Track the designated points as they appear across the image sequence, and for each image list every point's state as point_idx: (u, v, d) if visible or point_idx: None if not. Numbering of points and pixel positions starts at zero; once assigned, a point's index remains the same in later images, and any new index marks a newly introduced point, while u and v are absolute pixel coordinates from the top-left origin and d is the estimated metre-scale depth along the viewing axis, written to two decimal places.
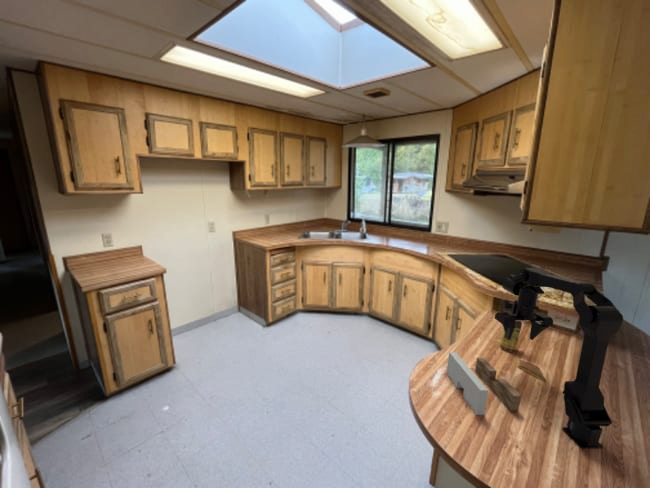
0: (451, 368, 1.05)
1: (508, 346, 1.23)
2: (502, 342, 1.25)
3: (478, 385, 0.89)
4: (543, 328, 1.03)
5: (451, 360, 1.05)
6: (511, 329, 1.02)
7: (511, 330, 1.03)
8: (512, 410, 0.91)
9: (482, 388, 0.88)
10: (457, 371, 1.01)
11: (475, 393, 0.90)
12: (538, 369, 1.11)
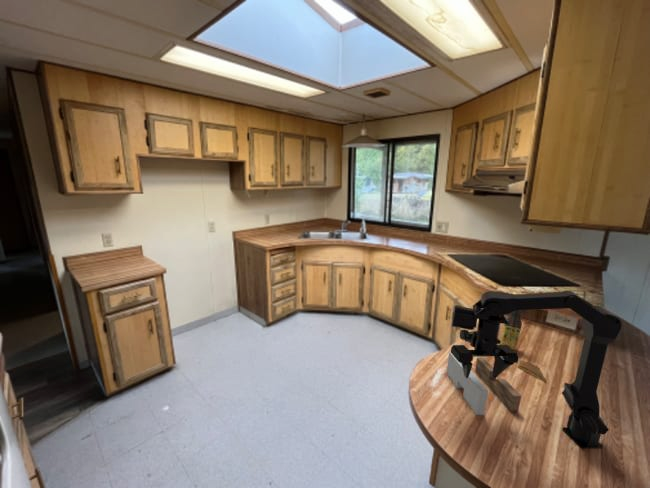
0: (451, 368, 1.05)
1: None
2: (502, 342, 1.25)
3: (478, 385, 0.89)
4: (507, 365, 0.86)
5: (451, 360, 1.05)
6: (468, 367, 0.86)
7: (468, 368, 0.86)
8: (512, 410, 0.91)
9: (482, 388, 0.88)
10: (457, 371, 1.01)
11: (475, 393, 0.90)
12: (538, 369, 1.11)
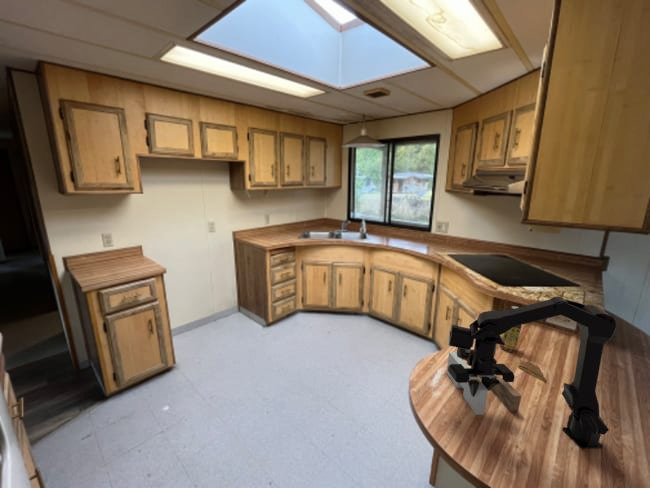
0: None
1: (508, 346, 1.23)
2: None
3: None
4: (493, 385, 0.87)
5: (451, 360, 1.05)
6: (475, 386, 0.87)
7: (475, 387, 0.87)
8: (512, 410, 0.91)
9: (482, 388, 0.88)
10: None
11: None
12: (538, 369, 1.11)
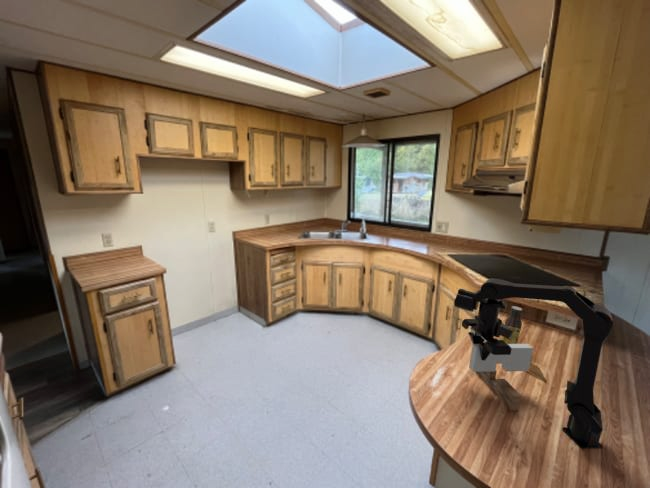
0: None
1: None
2: None
3: None
4: (480, 346, 0.93)
5: None
6: (471, 338, 0.99)
7: (471, 340, 0.99)
8: (512, 410, 0.91)
9: (476, 345, 0.96)
10: None
11: None
12: (538, 369, 1.11)
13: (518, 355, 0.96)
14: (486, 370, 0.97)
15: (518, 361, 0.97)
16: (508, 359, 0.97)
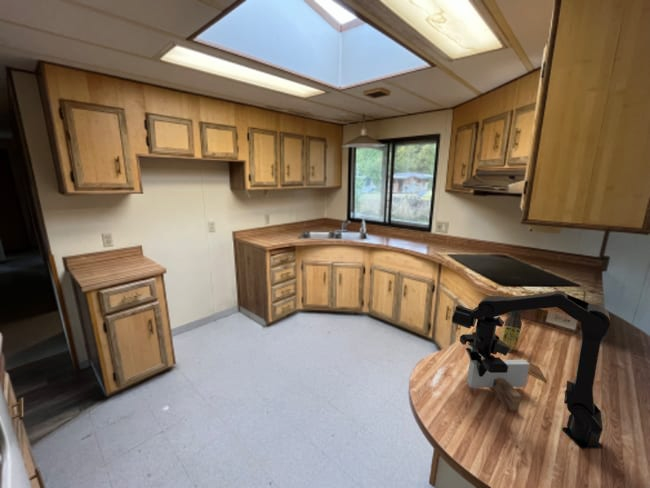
0: None
1: None
2: None
3: None
4: (477, 363, 0.95)
5: None
6: (468, 354, 1.00)
7: (469, 356, 1.00)
8: (512, 410, 0.91)
9: (474, 362, 0.98)
10: None
11: None
12: (538, 369, 1.11)
13: (515, 371, 0.98)
14: (483, 386, 0.98)
15: (515, 377, 0.98)
16: (506, 375, 0.98)
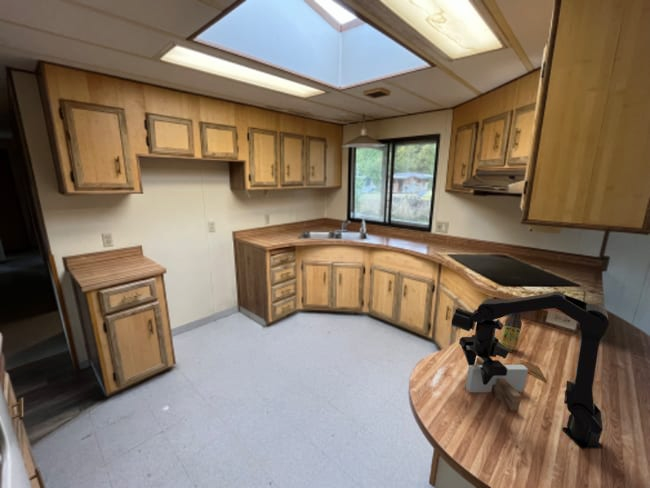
0: None
1: (508, 346, 1.23)
2: (502, 342, 1.25)
3: (475, 366, 0.99)
4: (482, 371, 0.92)
5: None
6: (464, 352, 1.03)
7: None
8: (512, 410, 0.91)
9: (472, 367, 0.98)
10: None
11: None
12: (538, 369, 1.11)
13: (514, 376, 0.98)
14: (482, 391, 0.99)
15: (513, 382, 0.99)
16: None
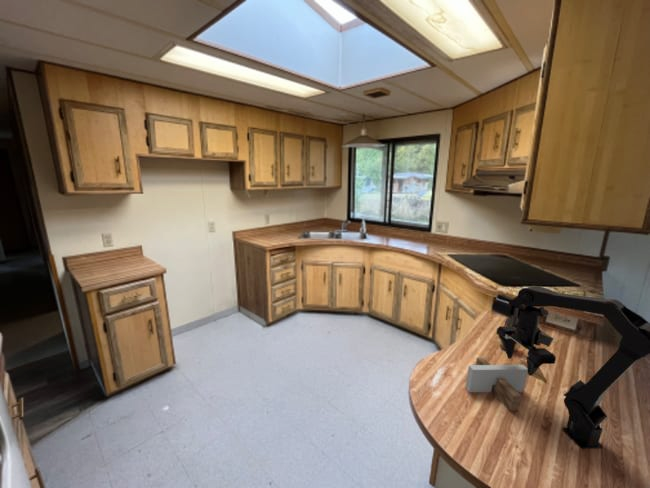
0: None
1: None
2: None
3: (475, 366, 0.99)
4: (528, 360, 0.88)
5: None
6: (502, 341, 1.00)
7: (503, 343, 1.00)
8: (512, 410, 0.91)
9: (472, 367, 0.98)
10: None
11: None
12: (538, 369, 1.11)
13: (514, 376, 0.98)
14: (482, 391, 0.99)
15: (513, 382, 0.99)
16: None
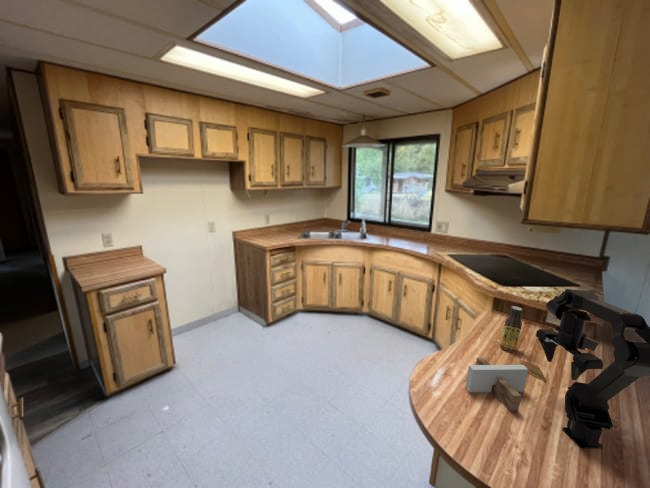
0: None
1: (508, 346, 1.23)
2: (502, 342, 1.25)
3: (475, 366, 0.99)
4: (573, 365, 0.86)
5: None
6: (542, 344, 0.98)
7: (543, 346, 0.98)
8: (512, 410, 0.91)
9: (472, 367, 0.98)
10: None
11: None
12: (538, 369, 1.11)
13: (514, 376, 0.98)
14: (482, 391, 0.99)
15: (513, 382, 0.99)
16: None
